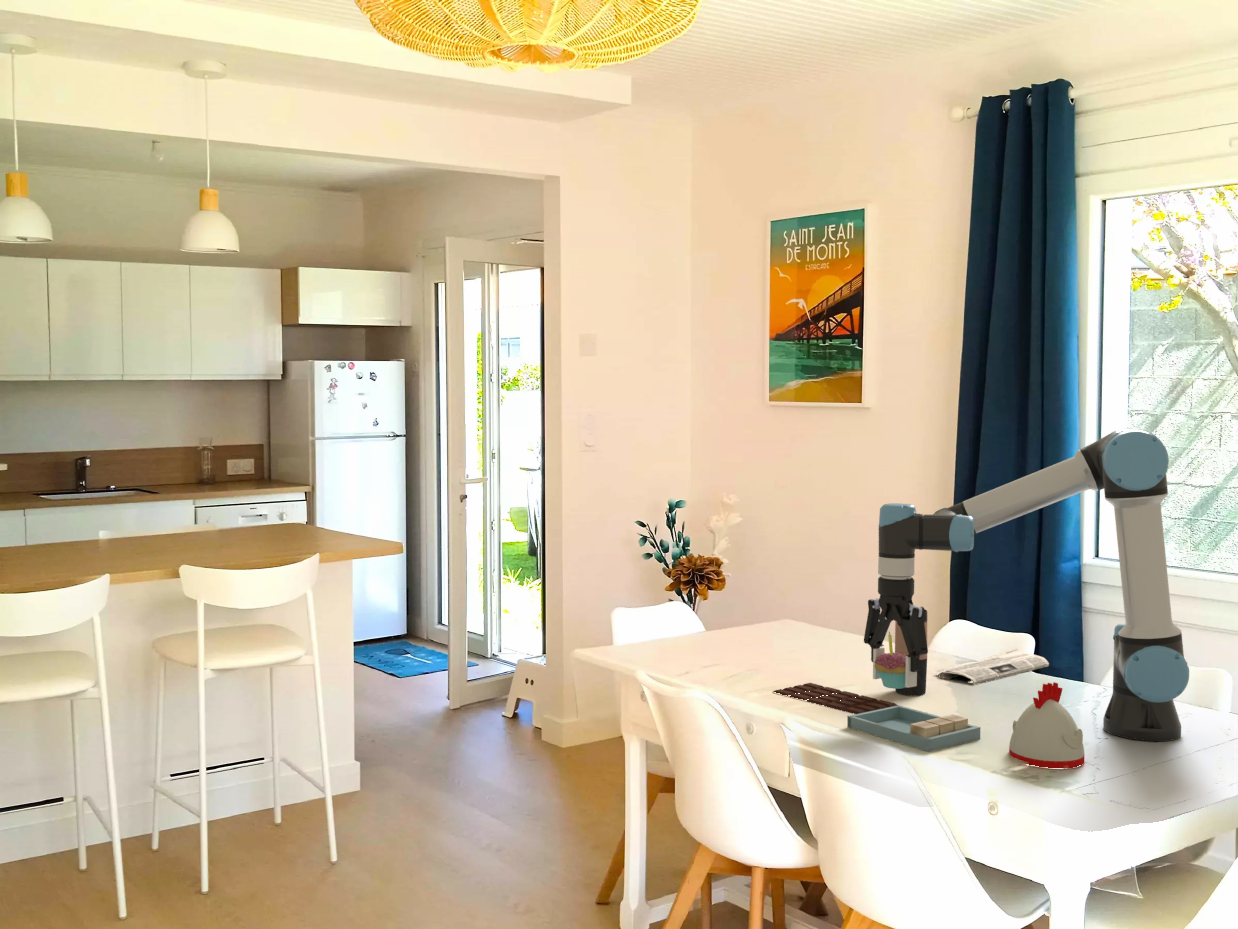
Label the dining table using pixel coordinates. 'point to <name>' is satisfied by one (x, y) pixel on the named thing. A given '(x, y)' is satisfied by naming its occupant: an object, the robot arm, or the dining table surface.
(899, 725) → the tray
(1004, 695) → the dining table surface
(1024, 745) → the kitchen timer
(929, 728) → the block
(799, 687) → the chocolate bar
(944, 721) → the block
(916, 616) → the robot arm
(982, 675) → the newspaper
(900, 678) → the cupcake
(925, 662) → the travel mug
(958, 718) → the block
